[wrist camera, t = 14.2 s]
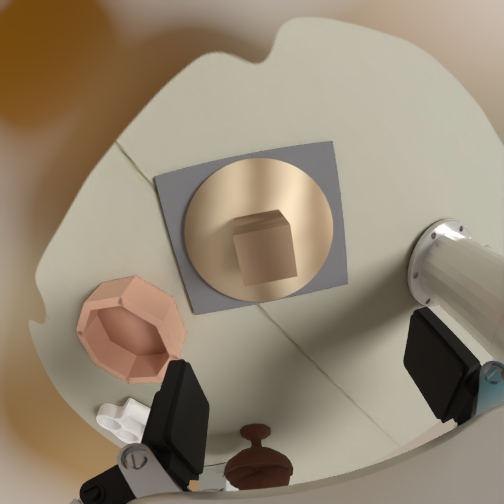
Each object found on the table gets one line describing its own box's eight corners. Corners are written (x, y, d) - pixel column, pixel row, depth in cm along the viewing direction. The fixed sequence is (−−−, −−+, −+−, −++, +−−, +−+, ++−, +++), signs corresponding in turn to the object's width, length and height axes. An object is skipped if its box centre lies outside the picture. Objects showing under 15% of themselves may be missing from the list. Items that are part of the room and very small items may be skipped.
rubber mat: (330, 141, 25) (332, 141, 25) (346, 281, 31) (347, 283, 30) (155, 176, 26) (154, 176, 25) (195, 312, 31) (195, 315, 30)
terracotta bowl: (163, 269, 29) (151, 290, 24) (194, 352, 33) (190, 379, 28) (81, 286, 29) (62, 305, 24) (118, 359, 33) (106, 383, 29)
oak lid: (320, 147, 25) (346, 145, 19) (335, 282, 30) (358, 314, 24) (170, 176, 25) (148, 183, 19) (206, 308, 30) (199, 346, 24)
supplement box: (226, 461, 45) (227, 510, 33) (243, 472, 47) (245, 516, 35) (198, 466, 45) (196, 511, 34) (216, 476, 48) (216, 518, 36)
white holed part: (208, 428, 40) (173, 452, 43) (114, 382, 36) (94, 414, 39) (207, 443, 37) (171, 464, 40) (108, 397, 32) (89, 426, 36)
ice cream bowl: (214, 437, 40) (212, 506, 26) (245, 408, 38) (249, 491, 23) (263, 449, 43) (270, 512, 29) (298, 422, 40) (313, 494, 26)
